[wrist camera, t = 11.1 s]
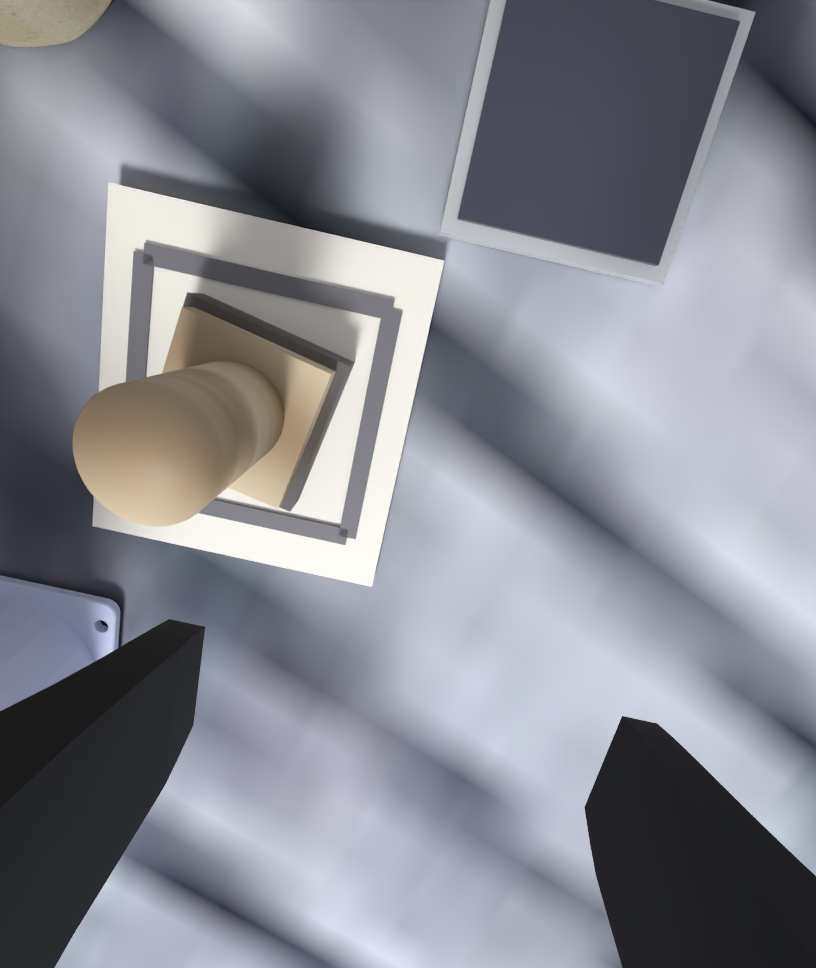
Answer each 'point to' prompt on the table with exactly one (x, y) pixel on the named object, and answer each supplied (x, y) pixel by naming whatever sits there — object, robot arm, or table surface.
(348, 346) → the print card
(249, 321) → the stamp
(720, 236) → the table surface
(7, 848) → the robot arm
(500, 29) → the ink pad
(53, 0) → the flower pot
